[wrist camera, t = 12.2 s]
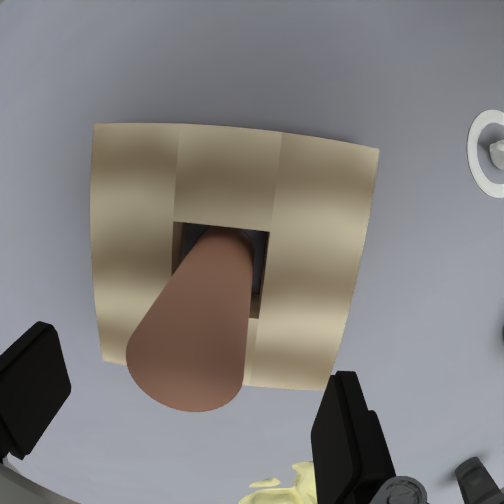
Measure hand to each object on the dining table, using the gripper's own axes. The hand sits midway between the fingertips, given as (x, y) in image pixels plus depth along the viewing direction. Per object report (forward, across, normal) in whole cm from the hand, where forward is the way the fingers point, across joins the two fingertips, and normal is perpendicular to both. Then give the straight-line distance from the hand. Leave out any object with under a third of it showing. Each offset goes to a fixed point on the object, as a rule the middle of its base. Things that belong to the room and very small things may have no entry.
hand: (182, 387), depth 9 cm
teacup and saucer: (+16, -24, -9) cm, 30 cm away
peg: (+15, 0, 0) cm, 15 cm away
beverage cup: (+16, -40, +33) cm, 54 cm away
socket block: (+15, +1, +1) cm, 15 cm away
